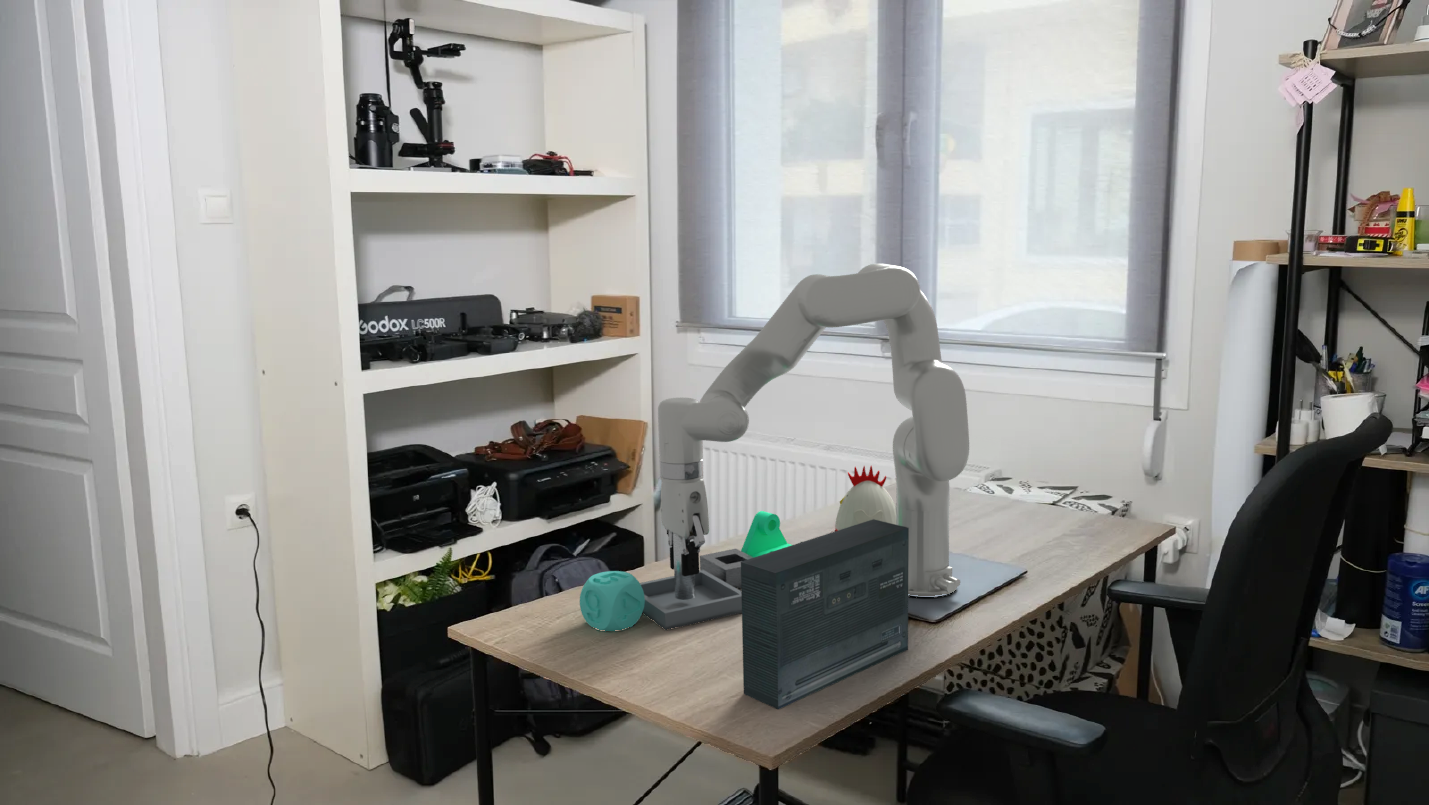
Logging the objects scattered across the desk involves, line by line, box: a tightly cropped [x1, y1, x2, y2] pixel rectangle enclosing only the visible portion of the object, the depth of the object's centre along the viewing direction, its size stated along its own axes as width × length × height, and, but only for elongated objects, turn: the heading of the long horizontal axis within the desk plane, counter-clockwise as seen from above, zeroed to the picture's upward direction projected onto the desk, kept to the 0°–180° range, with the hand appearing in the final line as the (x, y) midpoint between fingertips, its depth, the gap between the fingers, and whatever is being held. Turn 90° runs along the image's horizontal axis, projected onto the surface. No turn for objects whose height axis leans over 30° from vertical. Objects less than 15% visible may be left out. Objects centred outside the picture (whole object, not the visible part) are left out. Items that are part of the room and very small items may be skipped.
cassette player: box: [740, 519, 909, 710], centre depth 160 cm, size 29×7×20 cm, turn 132°
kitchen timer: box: [834, 465, 896, 532], centre depth 228 cm, size 14×14×15 cm
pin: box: [673, 532, 695, 600], centre depth 188 cm, size 4×4×13 cm
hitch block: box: [699, 548, 754, 589], centre depth 203 cm, size 10×8×4 cm
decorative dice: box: [579, 570, 645, 632], centre depth 182 cm, size 8×8×8 cm
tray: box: [639, 569, 742, 631], centre depth 189 cm, size 16×16×3 cm
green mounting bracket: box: [740, 510, 792, 557], centre depth 210 cm, size 12×8×10 cm, turn 132°
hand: (684, 570), depth 189 cm, fingers closed on pin, 3 cm apart
